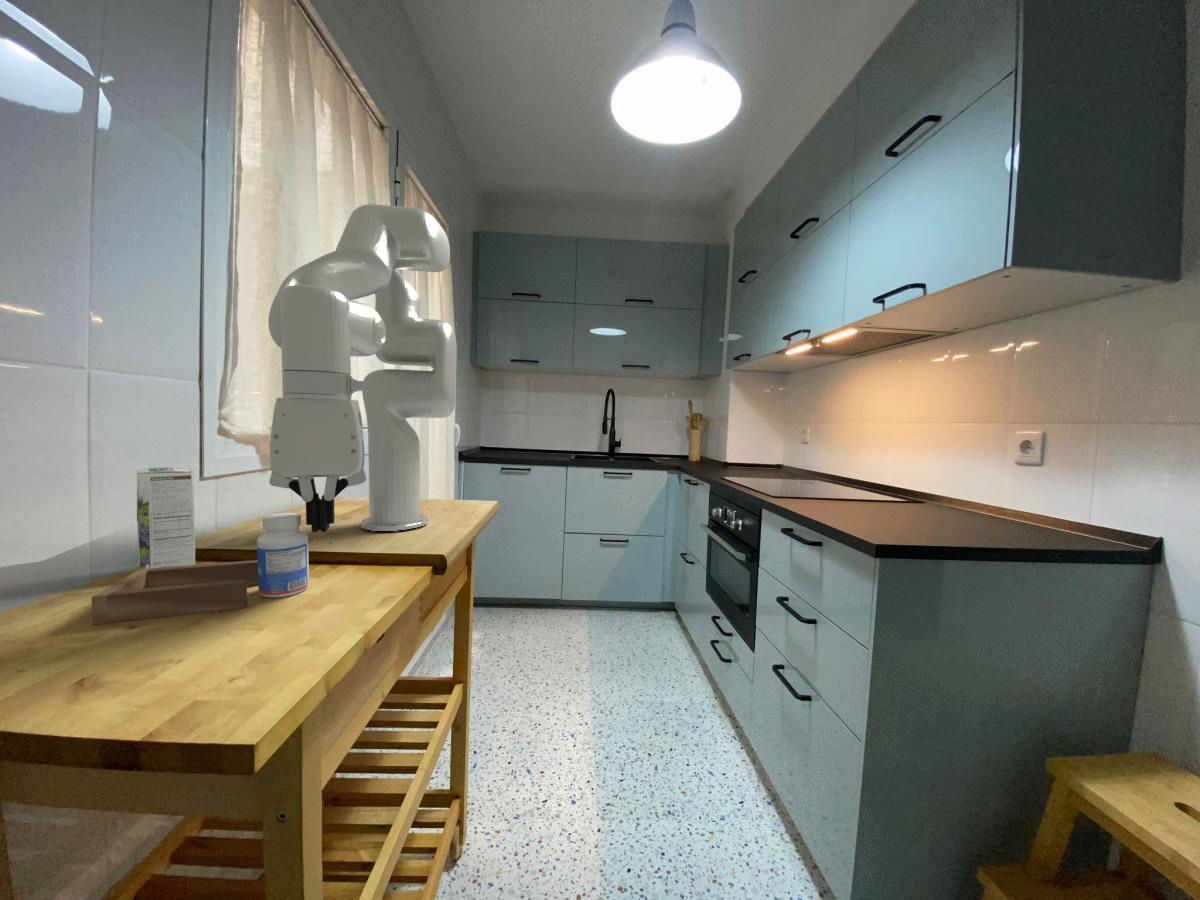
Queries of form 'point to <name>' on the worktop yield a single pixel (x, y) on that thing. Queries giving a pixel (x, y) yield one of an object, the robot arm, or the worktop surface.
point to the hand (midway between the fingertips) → (320, 529)
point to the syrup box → (165, 517)
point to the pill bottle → (282, 556)
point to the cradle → (175, 591)
